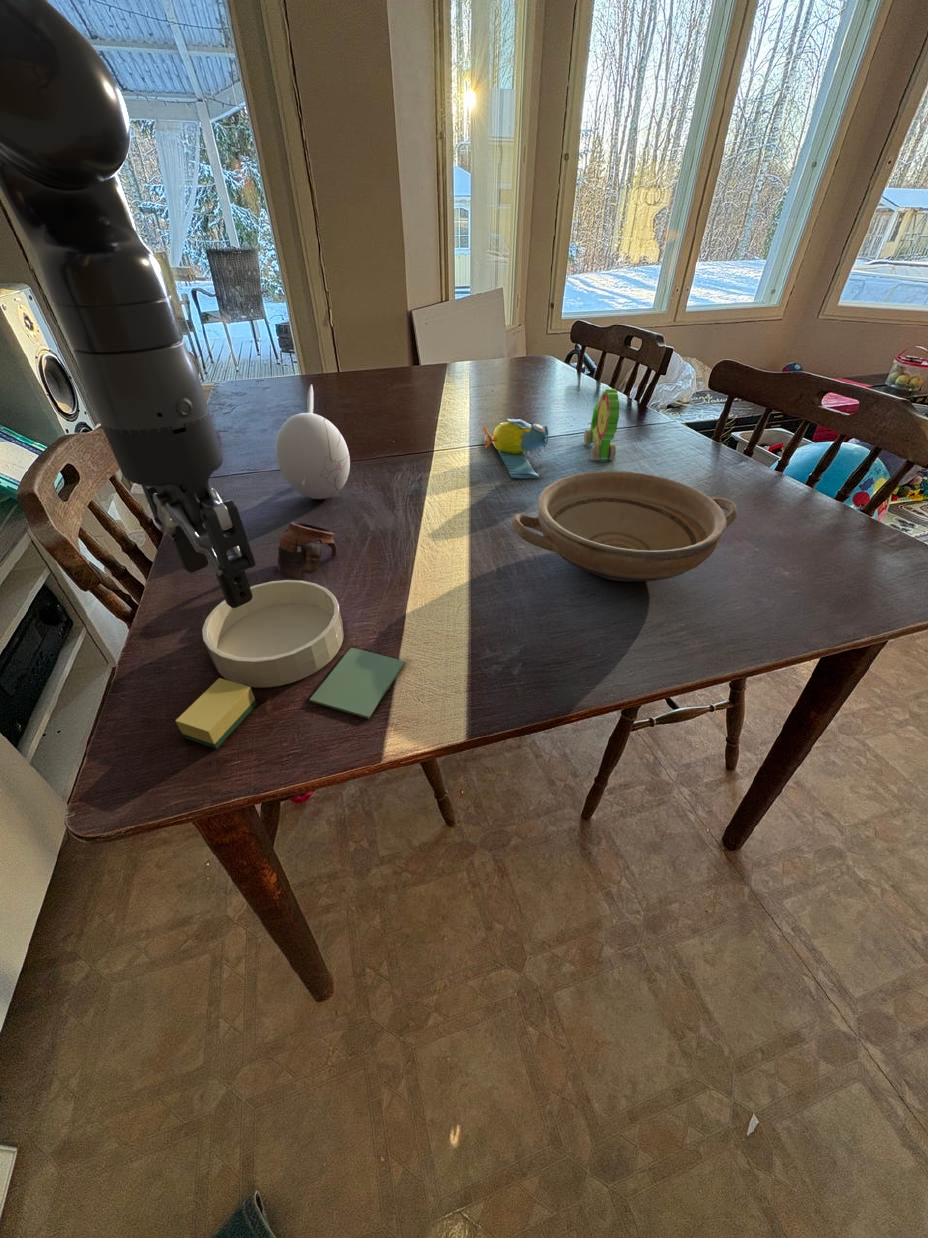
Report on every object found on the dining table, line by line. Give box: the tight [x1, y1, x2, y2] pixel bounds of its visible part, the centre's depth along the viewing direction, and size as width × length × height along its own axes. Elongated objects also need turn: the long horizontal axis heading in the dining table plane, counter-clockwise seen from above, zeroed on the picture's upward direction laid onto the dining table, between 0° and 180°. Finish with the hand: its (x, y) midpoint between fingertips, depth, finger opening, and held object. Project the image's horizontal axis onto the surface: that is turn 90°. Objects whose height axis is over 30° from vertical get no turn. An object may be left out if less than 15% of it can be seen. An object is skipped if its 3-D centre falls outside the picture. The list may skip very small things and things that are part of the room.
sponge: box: [175, 677, 258, 750], centre depth 59 cm, size 7×4×3 cm, turn 160°
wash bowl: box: [201, 579, 344, 689], centre depth 69 cm, size 17×17×4 cm
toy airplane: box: [481, 418, 549, 480], centre depth 121 cm, size 28×9×15 cm
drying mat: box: [309, 647, 406, 720], centre depth 64 cm, size 10×8×1 cm
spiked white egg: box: [275, 383, 351, 500], centre depth 104 cm, size 19×14×25 cm
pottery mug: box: [276, 521, 338, 579], centre depth 84 cm, size 12×10×8 cm
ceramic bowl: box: [511, 470, 739, 582], centre depth 83 cm, size 37×29×10 cm
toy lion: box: [583, 388, 620, 461], centre depth 120 cm, size 16×5×15 cm, turn 0°
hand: (218, 585), depth 49 cm, fingers open, 8 cm apart
